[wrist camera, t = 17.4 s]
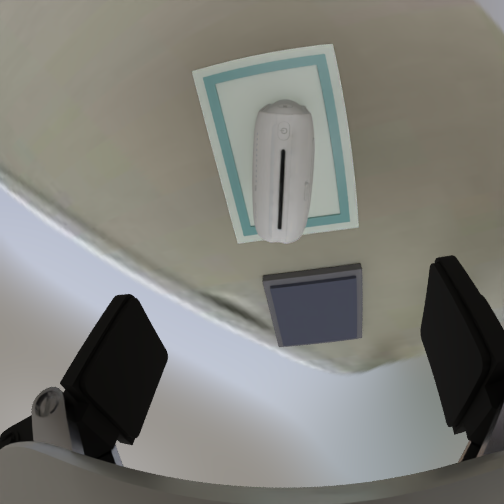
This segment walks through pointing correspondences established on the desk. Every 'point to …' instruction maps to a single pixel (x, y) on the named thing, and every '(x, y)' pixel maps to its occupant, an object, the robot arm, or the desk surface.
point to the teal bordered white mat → (243, 125)
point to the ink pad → (316, 305)
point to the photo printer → (282, 170)
